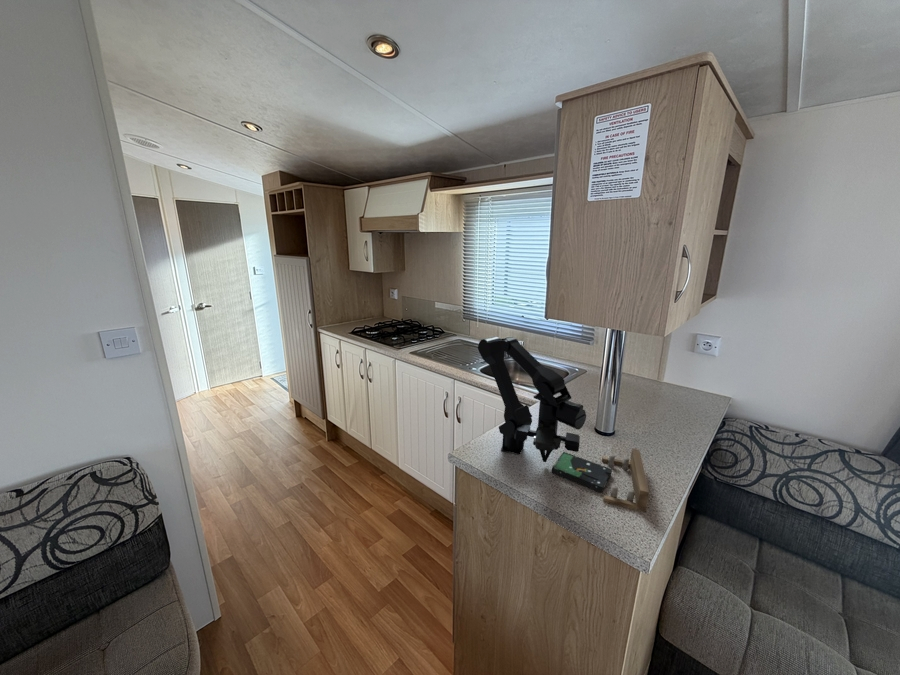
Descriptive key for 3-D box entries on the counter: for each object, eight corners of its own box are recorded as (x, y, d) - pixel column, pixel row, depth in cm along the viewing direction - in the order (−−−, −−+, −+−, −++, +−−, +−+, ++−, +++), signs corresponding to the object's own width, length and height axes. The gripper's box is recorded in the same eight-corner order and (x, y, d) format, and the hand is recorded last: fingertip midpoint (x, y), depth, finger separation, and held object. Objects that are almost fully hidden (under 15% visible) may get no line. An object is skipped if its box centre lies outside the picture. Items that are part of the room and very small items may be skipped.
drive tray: (603, 501, 94) (606, 482, 92) (601, 459, 112) (604, 443, 110) (645, 512, 90) (649, 492, 89) (636, 466, 109) (639, 449, 107)
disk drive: (611, 476, 105) (562, 458, 113) (612, 468, 104) (563, 450, 113) (602, 496, 97) (550, 474, 105) (603, 487, 96) (551, 466, 105)
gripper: (511, 422, 100) (509, 469, 104) (580, 435, 94) (575, 485, 98) (519, 406, 110) (516, 449, 114) (582, 416, 104) (576, 462, 108)
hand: (544, 461), depth 108 cm, fingers closed
